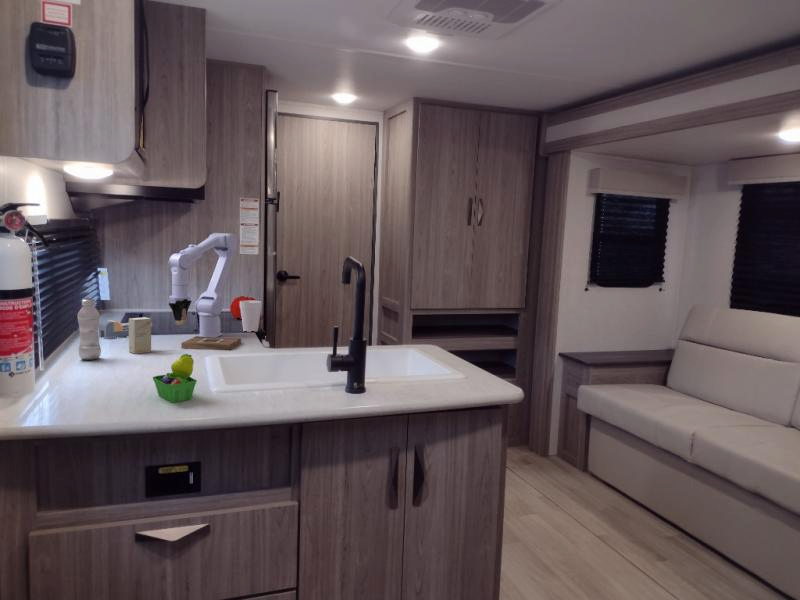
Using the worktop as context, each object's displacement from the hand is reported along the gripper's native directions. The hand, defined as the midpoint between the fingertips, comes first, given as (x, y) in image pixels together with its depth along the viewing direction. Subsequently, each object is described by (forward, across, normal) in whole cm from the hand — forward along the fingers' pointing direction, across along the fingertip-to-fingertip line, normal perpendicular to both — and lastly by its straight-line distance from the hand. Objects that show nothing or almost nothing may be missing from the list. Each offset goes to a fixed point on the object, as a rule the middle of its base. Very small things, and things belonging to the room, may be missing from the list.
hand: (180, 319), depth 220 cm
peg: (+2, 0, 0) cm, 2 cm away
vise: (+9, -9, -27) cm, 30 cm away
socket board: (+9, +4, +14) cm, 17 cm away
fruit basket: (+9, +71, +29) cm, 77 cm away
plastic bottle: (+9, +34, -16) cm, 39 cm away
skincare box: (+9, +20, -6) cm, 23 cm away
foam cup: (+9, -31, +18) cm, 37 cm away
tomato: (+9, -63, +6) cm, 64 cm away
